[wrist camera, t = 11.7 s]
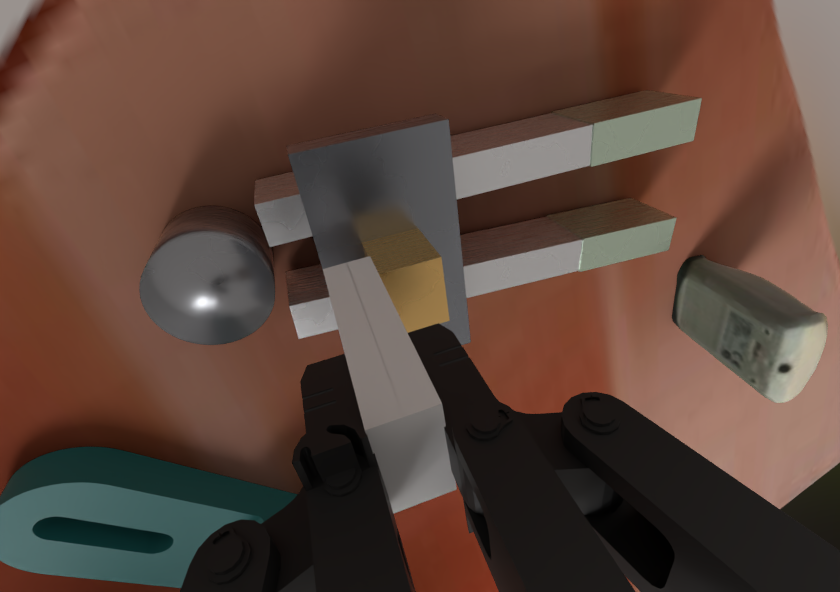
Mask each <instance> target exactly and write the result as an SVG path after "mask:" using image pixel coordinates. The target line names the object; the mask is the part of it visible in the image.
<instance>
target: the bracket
mask: <svg viewBox="0 0 840 592" xmlns="http://www.w3.org/2000/svg"><path fill="white" fill-rule="evenodd" d="M297 495H298V494H294V493H290V492H286V491H282V490H278V489H274V488H270V487H266V486H262V485H258V484H254V483H250V482H246V481H242V480H238V479H234V478H230V477H226V476H222V475H218V474H214V473H210V472H206V471H202V470H198V469H194V468H190V467H186V466H182V465H179V464H175V463H171V462H167V461H163V460H159V459H155V458H151V457H147V456H143V455H139V454H135V453H131V452H127V451H123V450H118V449H113V448H106V447H76V448H68V449H63V450H58V451H54V452H51V453H48V454H45V455H42V456H40V457H38V458H35V459H33V460H32V461H30V462H28V463H27V464H25V465H24V466H22V467H21V468H20V469H19V470H17V471H16V472H15V474H14V475H13V476H12V477H11V479H10V480H9V482H8V483H7V485H6V487H5V489H4V491H3V492H2V494H1V496H0V561H2V562H3V563H5V564H7V565H9V566H12V567H14V568H17V569H20V570H24V571H28V572H33V573H39V574H47V575H57V576H67V577H77V578H86V579H96V580H106V581H116V582H126V583H136V584H145V585H155V586H165V587H175V588H181V587H182V585H183V582H184V579H185V576H186V573H187V570H188V568H189V565H190V563H191V561H192V559H193V557H194V555H195V553H196V551H197V550H198V548H199V547H200V546H201V545H202V544H203V543H204V541H205V540H206V539H207V538H208V537H209V536H210V535H211V534H212V533H214V532H215V531H217V530H218V529H220V528H221V527H223V526H224V525H225V524H228V523H231V522H234V521H237V520H241V519H242V520H255V521H257V522H258V523H260V524H261V523H263V522H264V521H266V520H267V519H269V518H270V517H271V516H273V515H274V514H276V513H277V512H279V511H280V510H281V509H283V508H284V507H285V506H287V505H288V504H289V503H290V502H291V501H292V500H293V499H294V498H295V497H296V496H297Z"/></svg>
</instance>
